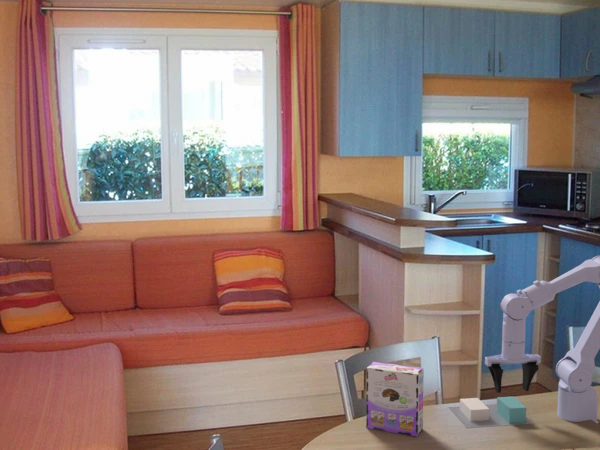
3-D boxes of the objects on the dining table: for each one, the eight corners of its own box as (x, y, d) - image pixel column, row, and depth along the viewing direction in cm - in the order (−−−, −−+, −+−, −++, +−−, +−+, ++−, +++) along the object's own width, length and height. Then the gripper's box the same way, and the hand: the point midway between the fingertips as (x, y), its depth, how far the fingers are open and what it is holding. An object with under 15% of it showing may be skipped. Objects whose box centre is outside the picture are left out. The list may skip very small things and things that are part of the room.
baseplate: (510, 406, 204) (511, 392, 204) (533, 427, 190) (534, 412, 190) (448, 410, 202) (448, 396, 201) (466, 431, 188) (467, 416, 187)
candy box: (423, 428, 190) (424, 367, 188) (417, 437, 185) (418, 374, 182) (372, 420, 196) (373, 360, 193) (365, 428, 190) (365, 366, 188)
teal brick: (512, 410, 199) (513, 396, 198) (525, 422, 191) (526, 407, 191) (496, 411, 198) (497, 397, 198) (509, 423, 190) (509, 408, 190)
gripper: (532, 334, 197) (531, 383, 199) (480, 337, 195) (479, 386, 197) (545, 342, 190) (543, 393, 192) (491, 345, 188) (490, 396, 190)
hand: (511, 390), depth 194 cm, fingers open, 7 cm apart
